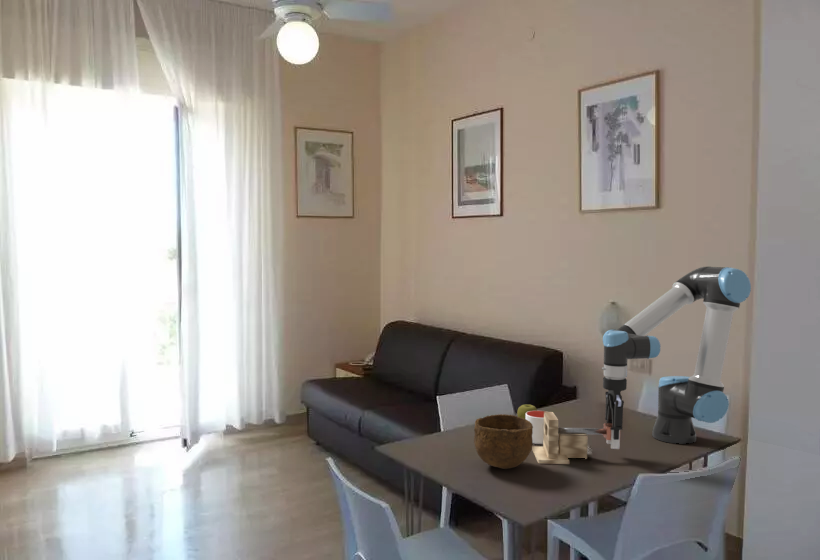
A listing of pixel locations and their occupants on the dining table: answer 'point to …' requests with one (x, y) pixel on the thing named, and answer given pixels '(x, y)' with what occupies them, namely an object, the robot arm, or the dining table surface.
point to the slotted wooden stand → (559, 444)
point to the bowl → (503, 440)
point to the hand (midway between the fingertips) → (612, 445)
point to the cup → (536, 425)
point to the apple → (525, 410)
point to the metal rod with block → (589, 431)
